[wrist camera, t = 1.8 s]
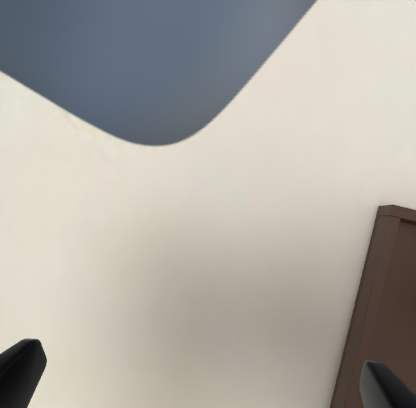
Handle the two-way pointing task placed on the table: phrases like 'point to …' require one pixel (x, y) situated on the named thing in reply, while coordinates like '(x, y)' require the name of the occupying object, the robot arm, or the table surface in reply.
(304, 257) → the table surface
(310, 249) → the table surface
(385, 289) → the tray
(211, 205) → the table surface
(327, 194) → the table surface
